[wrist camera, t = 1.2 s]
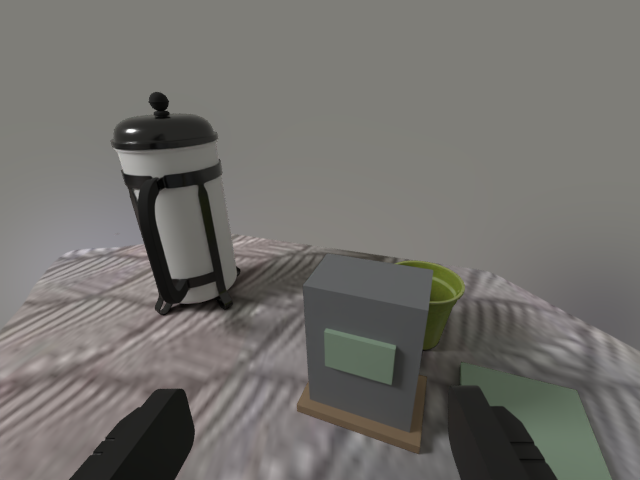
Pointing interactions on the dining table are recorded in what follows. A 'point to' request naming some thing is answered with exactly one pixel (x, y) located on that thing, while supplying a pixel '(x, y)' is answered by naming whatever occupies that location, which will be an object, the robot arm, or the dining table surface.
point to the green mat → (545, 420)
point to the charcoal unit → (367, 347)
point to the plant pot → (439, 299)
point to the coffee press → (178, 203)
